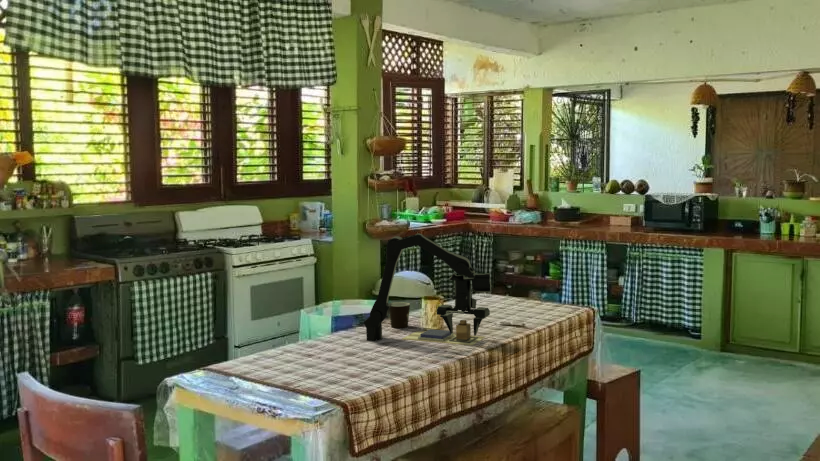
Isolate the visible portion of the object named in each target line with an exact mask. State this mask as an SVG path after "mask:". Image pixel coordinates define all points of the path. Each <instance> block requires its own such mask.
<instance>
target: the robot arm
mask: <svg viewBox="0 0 820 461" xmlns="http://www.w3.org/2000/svg"><path fill="white" fill-rule="evenodd" d="M416 246H418V247H419V248H421V249H423V250H425V251H426V252H428V253H429V254H431V255H433V256H435V257H436V258H438V259H439V260H441V261H443V262H444V263H445V264H446V265H447V266H448V267H449V268H450V269H451V270H452V271H454V272H453V274H452V275H451V276H449V281H454V295H453V299H454V306H453V305H451V304H442V305H440V306H437V308H436V315H437V316H439V317H440V318H442V320H443V321H444V323H445V324H446V326H447V329H448V331H450V333H451V334H452V333H454V326H453V325H454V323H453V317H454V316H453V315H454V314H461V315H462V314H463V315H473V316H474V318H473V336H477V335H478V331H479V327H480V325H481V323H482V321H483V320H484V319H485V318H486V319H487V317H489V316H490V314H491V313H490V308H489V307H483V306H482V307H480V306H479V307H477V302H478V300H477V299H475V298H473V294H472V292H471V290H473V291H474V292H475V293H492V281H491V273H476V272H475V270H474V269H473V267H472V266H471V261H470V260H469V258H468V257H466V256H463V255H460V254H459V253H458V254H457V253H455V252H451V251H449V250H448V249H445V248H444V247H443V246H441V245H439V244H438V243H436V242H434V241H433V240H431V239H430V238H428V237H425V235H424V234H423V233H415V234H412V235H408V236H404V237H402V236H398V235H395V236H393V237H392V238H390V239H388V241H387V243H386V258H385V259H386V261H385V265H384V268H383V270H384V271H383V273H382V278H381V282H380V286H379V290H378V294H377V297H376V299H375V301H374V303H373V305H372V307H371V310H370V312H369V316H368V317H367V318H366V319H364V321H363V324H364V326H365V331H366V334H365V335H366V341H367V342H377V341H381V340H382V339H383V324H382V323H383V321H384V320H385V319H386V318H388V317H389V316H390V307H391V305H392V303H393V302H389V297H390V292H391V289H392V284H393V280H394V277H395V273H396V269H397V265H398V261H399V260H400V258H401V255H402V254H403V251H404V250H405V249H408V248H412V247H416ZM457 274H458V275H457Z"/></svg>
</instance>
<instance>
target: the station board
mask: <svg viewBox="0 0 820 461" xmlns="http://www.w3.org/2000/svg"><path fill="white" fill-rule="evenodd" d="M424 332H425V331H423V330H422V331H421V330H420V331H419V330H417V331H414V332H412V333H410V334H408V335H406V336H404V337H402V338H401V340H406V341H414V342H417V341H418V342H426V343H427V342H428V343H439V344H450V345H451V344H452V345H462V346H471V347H472V346H474V345H475V344H477V343H479V342H480V341H482V340H483V339H485V338H486V336H483V335H482V336H481V335H476V336H474V335H471V339H470V340H468V341H457V340H456V333H454V335H453V336H452V337H450V338H448V339H446V340H445V341H432V340H421V339H418V337H419V336H420V334H422V333H424Z"/></svg>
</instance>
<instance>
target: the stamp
mask: <svg viewBox="0 0 820 461" xmlns="http://www.w3.org/2000/svg"><path fill="white" fill-rule="evenodd" d="M471 330H472V329H471V323H467V320H465V319H460V320H459V323H458V324H456V325H455V332H456V333H455V334H456V340H457V341H468V340H470V339H471V336H472V335H471Z"/></svg>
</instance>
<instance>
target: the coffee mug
mask: <svg viewBox="0 0 820 461" xmlns="http://www.w3.org/2000/svg"><path fill="white" fill-rule="evenodd" d="M391 303H392V305H391V307H390V314H389V320H390V327H391V329H397V330H400V329H401V330H402V329H406V328H408V327H409V318H410V309H411V308H410V307H411V303H409V302H403V301H400V302H399V301H398V302H397V301H396V302H391Z"/></svg>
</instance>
